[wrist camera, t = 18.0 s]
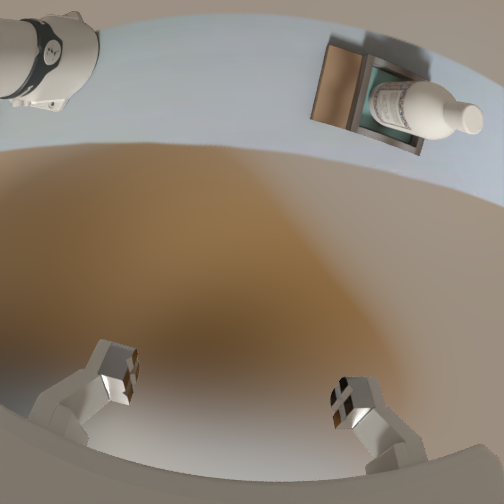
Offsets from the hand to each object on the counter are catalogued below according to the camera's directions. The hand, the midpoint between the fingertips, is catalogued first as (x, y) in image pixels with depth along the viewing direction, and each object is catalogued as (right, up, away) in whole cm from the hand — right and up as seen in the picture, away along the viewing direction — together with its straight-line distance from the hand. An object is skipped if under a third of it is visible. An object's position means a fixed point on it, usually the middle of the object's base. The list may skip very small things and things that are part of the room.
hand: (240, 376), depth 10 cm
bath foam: (+20, +26, +25) cm, 42 cm away
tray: (+19, +28, +27) cm, 43 cm away
